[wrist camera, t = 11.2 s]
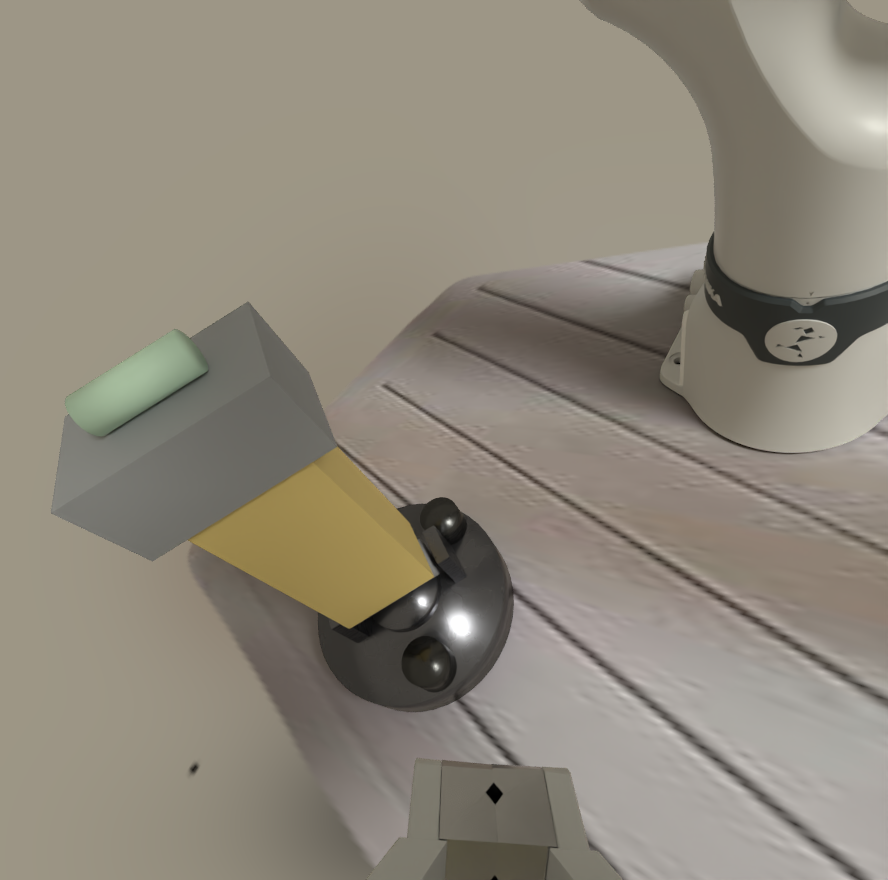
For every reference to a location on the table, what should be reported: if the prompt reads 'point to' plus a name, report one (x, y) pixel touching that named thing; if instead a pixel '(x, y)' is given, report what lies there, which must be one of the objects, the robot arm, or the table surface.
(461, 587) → the levelling base
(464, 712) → the table surface
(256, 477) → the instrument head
